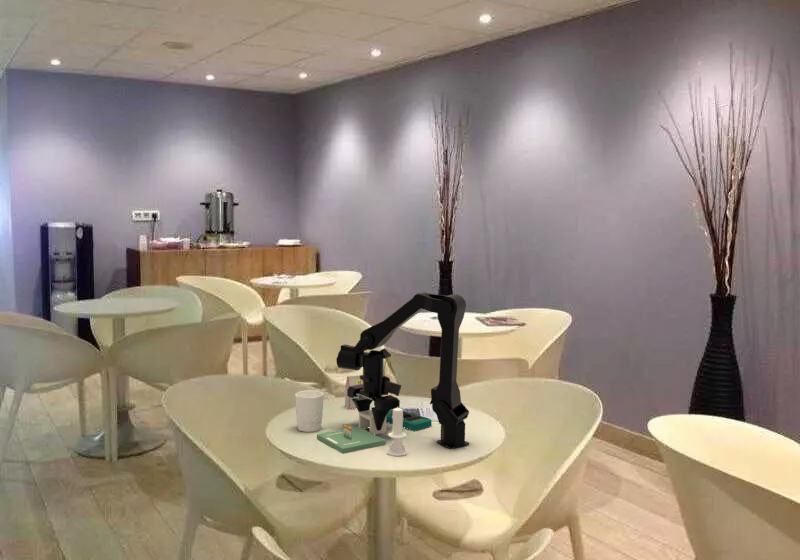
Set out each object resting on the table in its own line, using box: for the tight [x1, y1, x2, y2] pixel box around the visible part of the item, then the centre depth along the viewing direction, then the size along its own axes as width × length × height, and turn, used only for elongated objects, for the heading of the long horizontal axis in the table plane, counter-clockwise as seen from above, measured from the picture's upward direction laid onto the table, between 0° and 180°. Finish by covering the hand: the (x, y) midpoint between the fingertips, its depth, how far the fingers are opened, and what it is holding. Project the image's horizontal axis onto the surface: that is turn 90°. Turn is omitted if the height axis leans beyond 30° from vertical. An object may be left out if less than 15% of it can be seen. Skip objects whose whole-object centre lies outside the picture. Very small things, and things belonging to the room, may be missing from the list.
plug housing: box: [358, 409, 387, 435], centre depth 209 cm, size 6×5×5 cm
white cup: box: [294, 389, 325, 433], centre depth 209 cm, size 8×8×10 cm
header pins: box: [343, 423, 353, 440], centre depth 198 cm, size 3×1×3 cm, turn 35°
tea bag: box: [344, 375, 363, 410], centre depth 232 cm, size 4×7×10 cm, turn 112°
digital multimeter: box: [386, 409, 433, 432], centre depth 217 cm, size 7×15×3 cm, turn 44°
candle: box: [386, 408, 409, 457], centre depth 190 cm, size 5×5×12 cm
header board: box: [316, 426, 387, 454], centre depth 199 cm, size 14×13×1 cm
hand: (372, 427), depth 209 cm, fingers closed on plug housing, 6 cm apart
